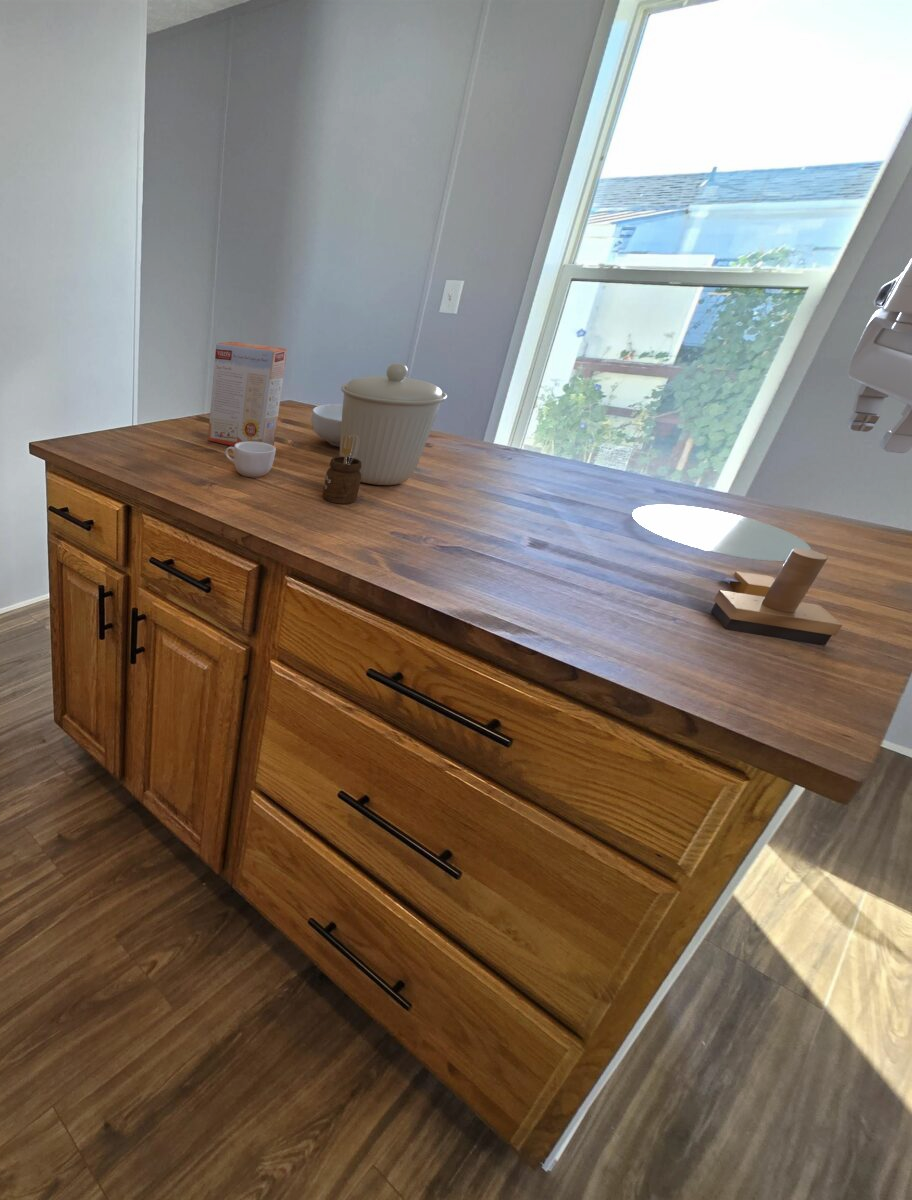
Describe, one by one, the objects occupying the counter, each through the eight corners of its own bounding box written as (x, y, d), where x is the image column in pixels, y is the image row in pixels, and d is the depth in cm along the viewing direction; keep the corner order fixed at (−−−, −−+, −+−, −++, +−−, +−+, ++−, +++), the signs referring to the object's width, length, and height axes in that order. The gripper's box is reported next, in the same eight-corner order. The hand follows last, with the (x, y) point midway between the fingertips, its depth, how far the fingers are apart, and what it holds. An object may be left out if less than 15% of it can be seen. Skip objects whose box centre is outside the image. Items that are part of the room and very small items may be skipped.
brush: (724, 629, 79) (766, 555, 74) (707, 610, 83) (746, 538, 78) (828, 646, 76) (879, 570, 71) (806, 625, 80) (853, 552, 75)
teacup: (278, 473, 128) (282, 446, 126) (262, 483, 123) (265, 455, 120) (232, 463, 133) (235, 437, 131) (214, 472, 128) (217, 445, 125)
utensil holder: (359, 496, 117) (373, 430, 112) (352, 507, 113) (367, 438, 107) (325, 490, 120) (337, 425, 114) (318, 501, 115) (330, 433, 109)
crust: (764, 589, 88) (772, 576, 88) (778, 602, 85) (786, 589, 84) (728, 584, 90) (735, 571, 89) (741, 597, 86) (748, 583, 85)
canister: (337, 457, 138) (357, 352, 127) (429, 472, 130) (458, 361, 120) (315, 482, 124) (335, 366, 114) (416, 500, 116) (448, 377, 106)
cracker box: (274, 448, 143) (289, 347, 133) (259, 454, 139) (273, 350, 129) (222, 436, 151) (231, 339, 141) (206, 441, 147) (215, 342, 137)
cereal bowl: (292, 442, 148) (297, 410, 144) (332, 429, 158) (338, 399, 154) (361, 459, 137) (368, 426, 133) (399, 445, 147) (407, 413, 143)
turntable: (783, 530, 107) (788, 521, 106) (828, 583, 90) (834, 574, 89) (622, 504, 116) (625, 496, 116) (635, 548, 100) (639, 539, 99)
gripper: (1078, 305, 52) (965, 471, 59) (956, 290, 68) (877, 423, 75) (966, 300, 55) (870, 460, 62) (873, 286, 71) (804, 415, 77)
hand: (873, 439), depth 68 cm, fingers open, 8 cm apart
